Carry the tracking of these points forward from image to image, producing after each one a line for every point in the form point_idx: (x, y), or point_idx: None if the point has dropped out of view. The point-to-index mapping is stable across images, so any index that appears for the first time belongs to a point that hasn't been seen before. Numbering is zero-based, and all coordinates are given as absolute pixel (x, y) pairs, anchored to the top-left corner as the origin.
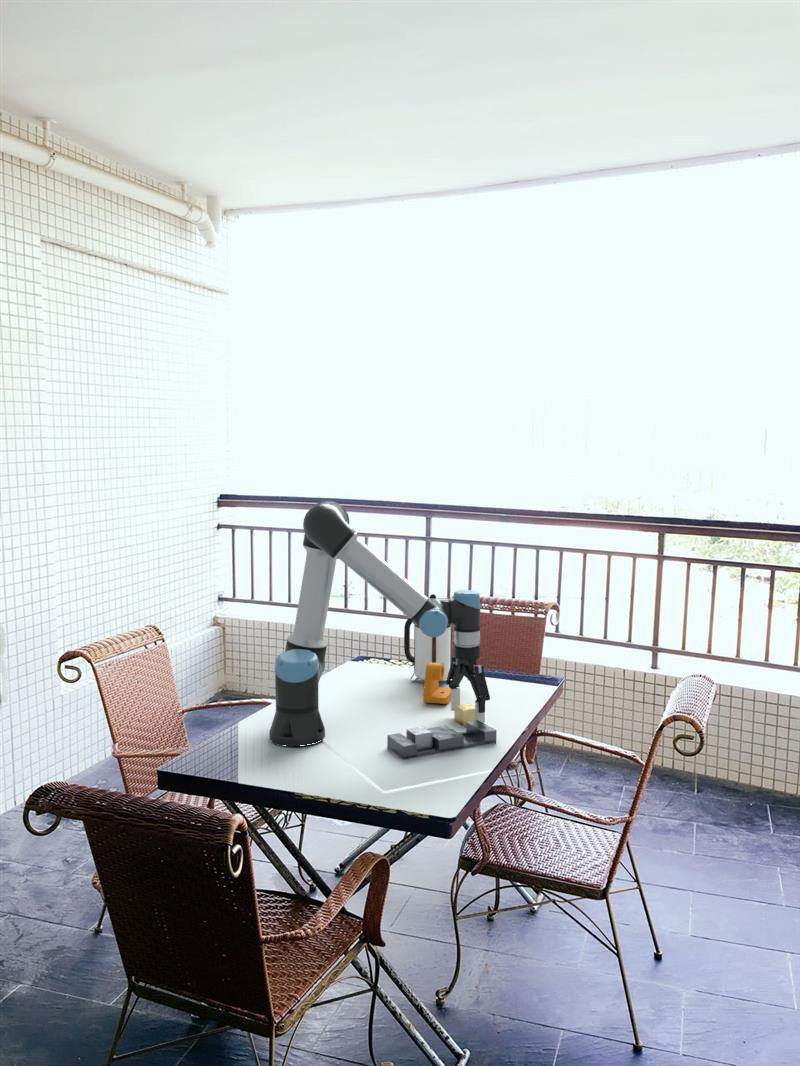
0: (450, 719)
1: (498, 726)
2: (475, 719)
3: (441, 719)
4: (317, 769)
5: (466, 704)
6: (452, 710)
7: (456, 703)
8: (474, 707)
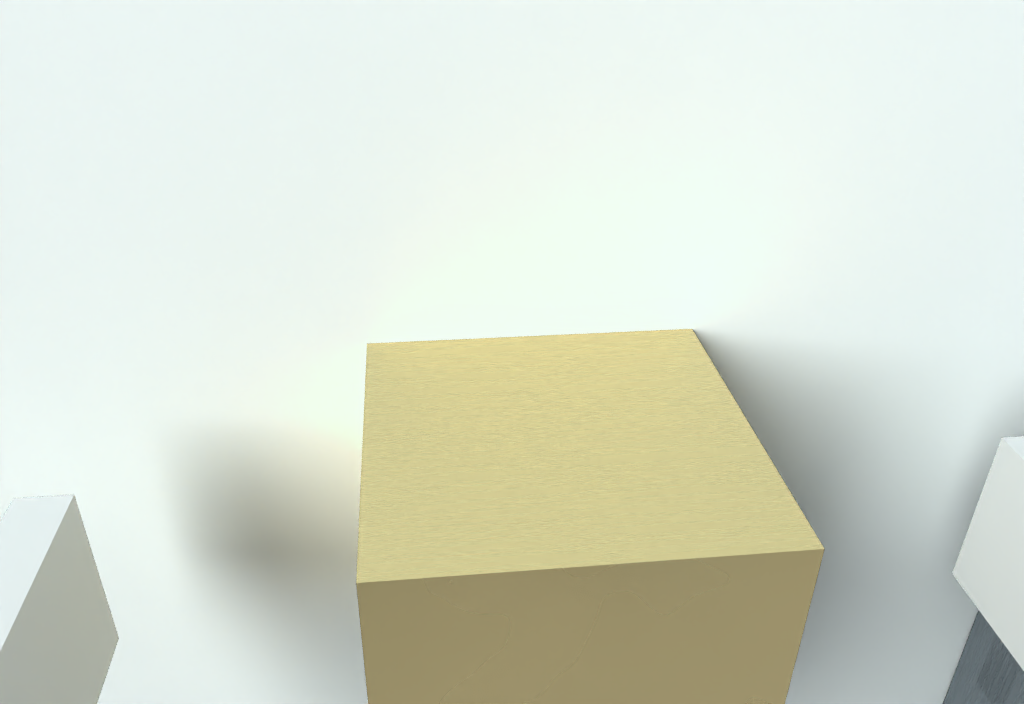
0: (232, 590)
1: (1011, 33)
2: (1003, 632)
3: (185, 689)
4: None
5: (419, 666)
6: (112, 641)
7: (44, 689)
8: (730, 601)
